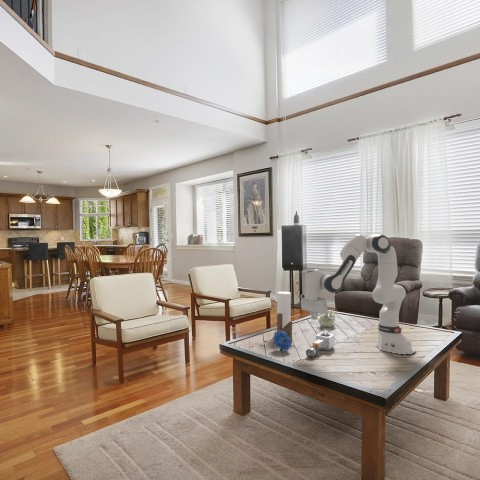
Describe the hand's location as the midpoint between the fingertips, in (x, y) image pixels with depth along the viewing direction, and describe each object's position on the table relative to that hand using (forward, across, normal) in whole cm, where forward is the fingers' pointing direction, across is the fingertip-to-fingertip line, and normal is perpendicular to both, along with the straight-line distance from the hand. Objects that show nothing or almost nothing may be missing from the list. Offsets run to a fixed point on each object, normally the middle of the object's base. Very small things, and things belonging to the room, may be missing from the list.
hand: (314, 319), depth 210 cm
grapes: (+19, +12, +16) cm, 28 cm away
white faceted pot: (+19, +2, -10) cm, 22 cm away
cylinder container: (+18, +39, -6) cm, 43 cm away
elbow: (+18, 0, -6) cm, 19 cm away
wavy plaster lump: (+18, +41, -50) cm, 67 cm away
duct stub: (+20, -5, +7) cm, 21 cm away
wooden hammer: (+18, +26, +4) cm, 32 cm away
